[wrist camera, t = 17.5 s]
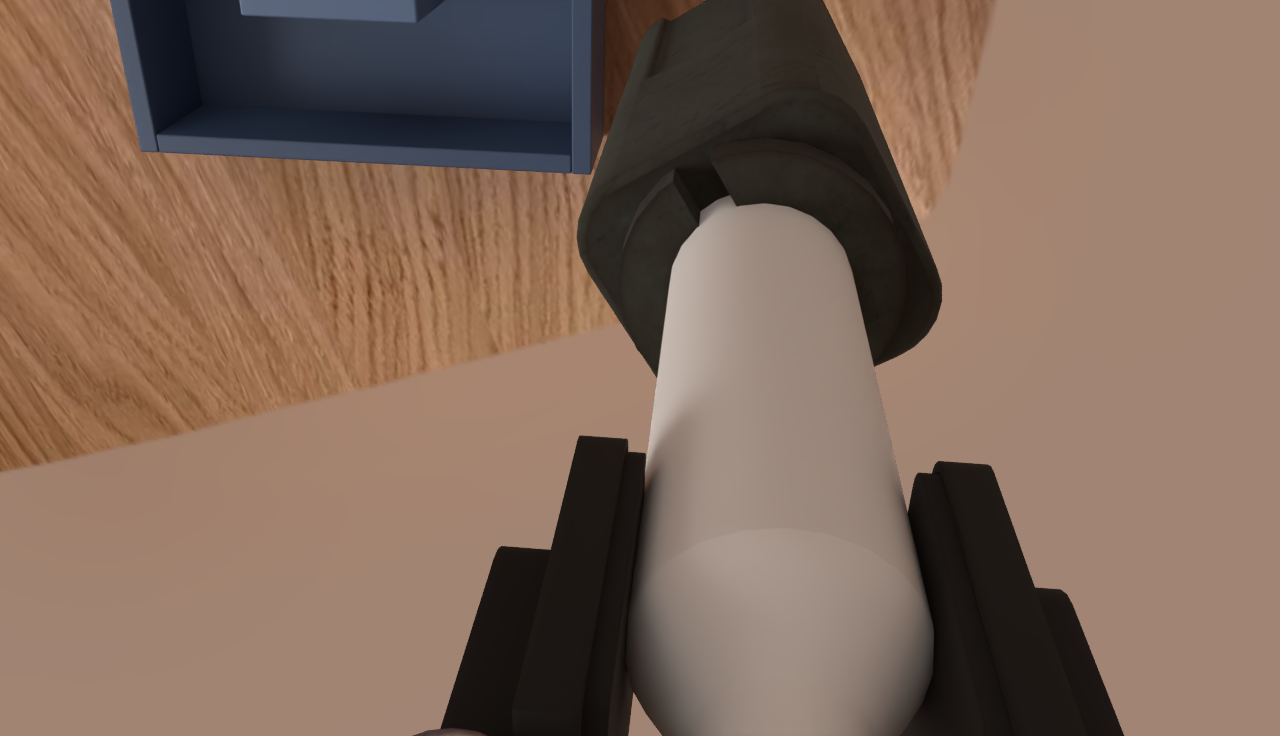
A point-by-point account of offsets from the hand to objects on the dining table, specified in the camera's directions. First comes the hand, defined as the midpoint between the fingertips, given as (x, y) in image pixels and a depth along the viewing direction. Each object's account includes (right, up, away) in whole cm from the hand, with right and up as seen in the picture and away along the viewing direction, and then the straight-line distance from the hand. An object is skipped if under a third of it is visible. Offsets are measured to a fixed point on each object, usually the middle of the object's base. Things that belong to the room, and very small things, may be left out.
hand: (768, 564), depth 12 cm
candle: (+2, +10, +17) cm, 20 cm away
